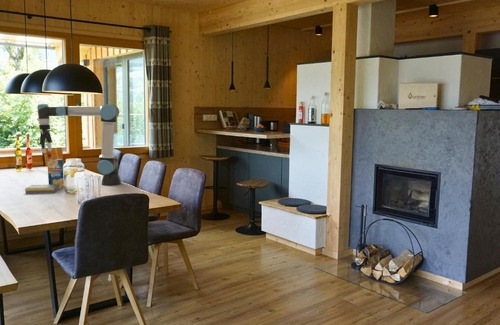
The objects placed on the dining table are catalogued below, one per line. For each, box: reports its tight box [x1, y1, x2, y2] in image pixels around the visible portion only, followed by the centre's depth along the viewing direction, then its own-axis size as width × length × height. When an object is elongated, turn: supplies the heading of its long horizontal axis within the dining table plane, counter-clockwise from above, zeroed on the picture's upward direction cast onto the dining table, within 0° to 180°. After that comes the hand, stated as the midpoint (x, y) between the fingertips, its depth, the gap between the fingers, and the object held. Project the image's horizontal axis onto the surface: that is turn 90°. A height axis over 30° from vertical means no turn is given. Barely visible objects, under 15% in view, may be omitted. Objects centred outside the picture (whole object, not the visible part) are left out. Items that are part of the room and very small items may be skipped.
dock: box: [24, 184, 61, 195], centre depth 333 cm, size 20×14×4 cm
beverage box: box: [46, 158, 65, 189], centre depth 348 cm, size 7×11×22 cm, turn 112°
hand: (47, 151), depth 344 cm, fingers open, 13 cm apart
